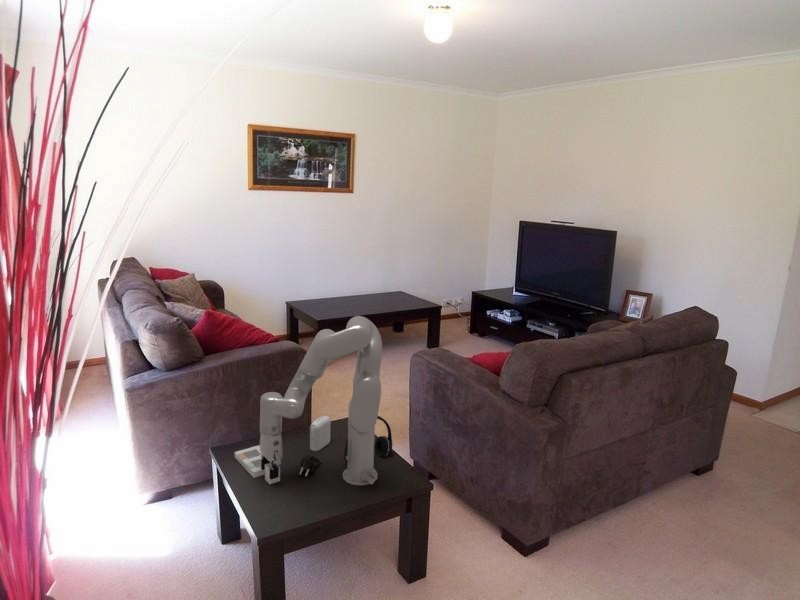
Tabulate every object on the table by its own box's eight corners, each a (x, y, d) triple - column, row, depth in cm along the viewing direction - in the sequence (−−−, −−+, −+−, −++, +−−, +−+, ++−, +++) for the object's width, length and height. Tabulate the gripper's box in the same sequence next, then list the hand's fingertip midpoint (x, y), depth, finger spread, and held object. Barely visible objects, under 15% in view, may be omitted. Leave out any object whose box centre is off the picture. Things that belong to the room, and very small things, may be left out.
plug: (280, 481, 194) (280, 463, 193) (269, 484, 192) (269, 466, 190) (275, 476, 197) (275, 458, 196) (265, 479, 195) (264, 461, 193)
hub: (279, 470, 201) (279, 463, 201) (253, 478, 195) (253, 471, 194) (259, 450, 215) (259, 444, 214) (234, 457, 209) (234, 451, 208)
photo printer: (317, 452, 215) (317, 424, 213) (308, 450, 217) (308, 421, 215) (331, 442, 224) (332, 414, 222) (323, 440, 226) (323, 412, 223)
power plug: (328, 463, 206) (313, 455, 196) (320, 482, 203) (305, 476, 194) (316, 459, 209) (300, 451, 199) (308, 478, 206) (292, 471, 196)
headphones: (384, 450, 220) (386, 408, 216) (394, 457, 214) (396, 414, 211) (341, 463, 208) (342, 418, 204) (350, 471, 203) (351, 425, 199)
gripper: (291, 435, 186) (289, 481, 190) (270, 416, 200) (269, 460, 204) (270, 439, 182) (269, 487, 186) (251, 420, 195) (250, 465, 199)
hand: (269, 472), depth 194 cm, fingers open, 6 cm apart
